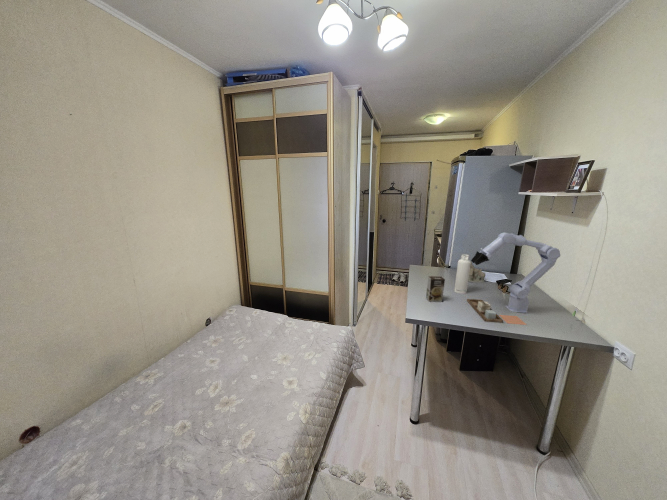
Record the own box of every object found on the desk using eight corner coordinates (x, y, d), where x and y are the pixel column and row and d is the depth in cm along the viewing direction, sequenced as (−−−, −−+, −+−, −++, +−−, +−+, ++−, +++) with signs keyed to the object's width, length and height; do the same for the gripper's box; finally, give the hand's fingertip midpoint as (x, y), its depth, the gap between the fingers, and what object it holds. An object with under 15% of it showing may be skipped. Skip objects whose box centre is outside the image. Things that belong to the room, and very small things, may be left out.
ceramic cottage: (458, 279, 209) (462, 262, 205) (467, 275, 219) (471, 259, 215) (477, 285, 197) (482, 268, 193) (486, 282, 207) (490, 265, 203)
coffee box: (428, 301, 166) (431, 279, 162) (425, 297, 173) (427, 275, 169) (442, 302, 166) (445, 279, 162) (438, 298, 172) (441, 276, 168)
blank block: (491, 316, 146) (492, 310, 145) (495, 319, 142) (496, 313, 142) (484, 315, 147) (485, 309, 146) (487, 319, 143) (488, 313, 142)
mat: (516, 316, 147) (516, 316, 147) (526, 325, 138) (527, 324, 137) (498, 315, 148) (498, 314, 148) (507, 324, 139) (507, 323, 139)
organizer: (481, 302, 166) (482, 299, 165) (502, 323, 140) (503, 320, 139) (466, 301, 167) (466, 298, 167) (484, 322, 141) (485, 319, 140)
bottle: (463, 289, 187) (468, 253, 180) (468, 294, 179) (473, 256, 173) (452, 289, 188) (457, 253, 181) (456, 293, 180) (461, 256, 173)
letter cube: (485, 309, 155) (486, 301, 154) (489, 313, 150) (490, 305, 149) (477, 308, 156) (478, 301, 155) (480, 312, 151) (481, 304, 150)
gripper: (484, 242, 157) (466, 256, 161) (491, 244, 143) (472, 259, 147) (492, 250, 156) (474, 264, 160) (500, 253, 142) (480, 268, 146)
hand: (473, 262), depth 153 cm, fingers open, 7 cm apart
